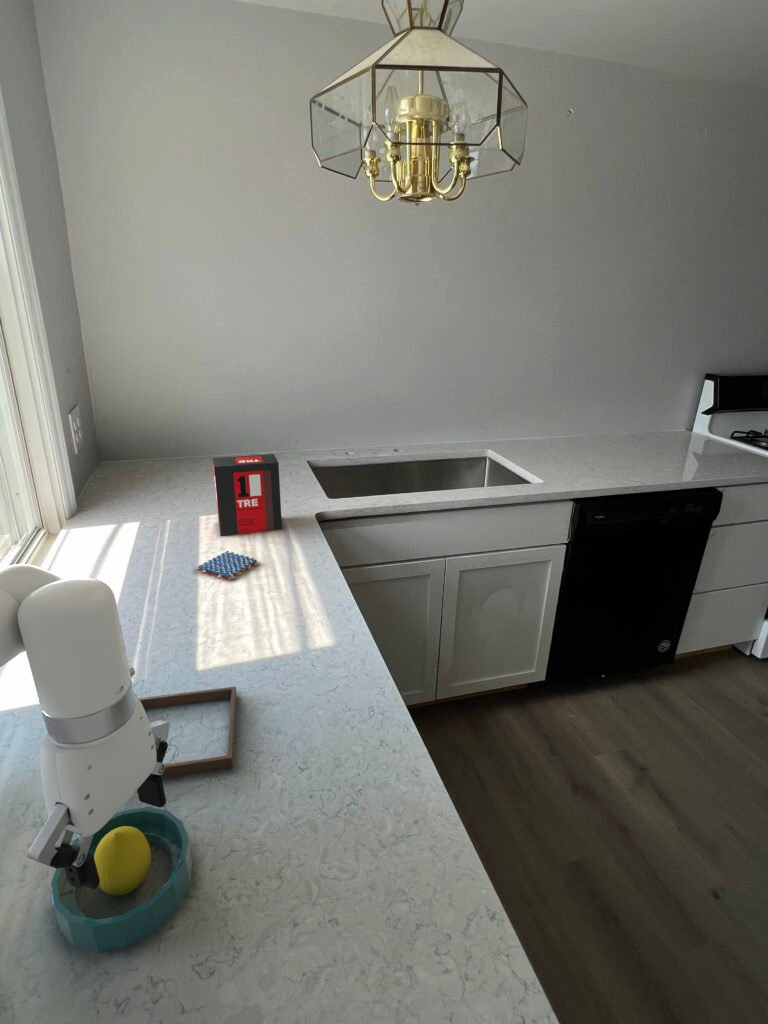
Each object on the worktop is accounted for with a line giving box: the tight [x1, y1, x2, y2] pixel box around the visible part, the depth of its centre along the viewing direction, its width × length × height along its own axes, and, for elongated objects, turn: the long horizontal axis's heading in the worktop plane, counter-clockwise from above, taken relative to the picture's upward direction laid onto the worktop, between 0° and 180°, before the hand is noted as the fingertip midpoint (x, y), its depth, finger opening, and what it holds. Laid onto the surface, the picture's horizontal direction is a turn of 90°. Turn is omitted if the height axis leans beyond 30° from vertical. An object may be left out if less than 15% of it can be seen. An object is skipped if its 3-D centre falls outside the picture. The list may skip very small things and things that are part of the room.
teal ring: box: [50, 806, 193, 954], centre depth 60 cm, size 13×13×4 cm
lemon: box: [94, 826, 152, 896], centre depth 59 cm, size 6×6×8 cm
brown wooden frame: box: [138, 686, 238, 780], centre depth 81 cm, size 17×15×2 cm
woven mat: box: [196, 550, 258, 581], centre depth 132 cm, size 10×11×2 cm
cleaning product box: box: [212, 453, 283, 537], centre depth 153 cm, size 16×9×20 cm, turn 108°
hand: (121, 839), depth 58 cm, fingers open, 9 cm apart
